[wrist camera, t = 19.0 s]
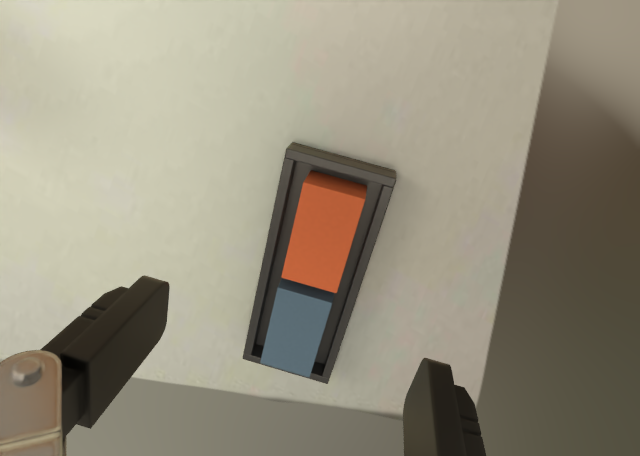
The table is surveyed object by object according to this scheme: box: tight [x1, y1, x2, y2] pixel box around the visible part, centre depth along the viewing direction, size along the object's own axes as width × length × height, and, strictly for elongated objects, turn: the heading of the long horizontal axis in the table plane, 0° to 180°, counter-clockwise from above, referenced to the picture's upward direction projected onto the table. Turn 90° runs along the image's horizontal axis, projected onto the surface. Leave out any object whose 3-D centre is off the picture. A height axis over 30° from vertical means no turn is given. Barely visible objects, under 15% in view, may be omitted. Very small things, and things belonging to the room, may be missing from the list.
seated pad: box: [260, 278, 334, 377], centre depth 40 cm, size 9×5×4 cm, turn 166°
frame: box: [243, 142, 396, 384], centre depth 39 cm, size 23×9×2 cm, turn 166°
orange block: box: [281, 170, 367, 293], centre depth 36 cm, size 9×5×4 cm, turn 166°
